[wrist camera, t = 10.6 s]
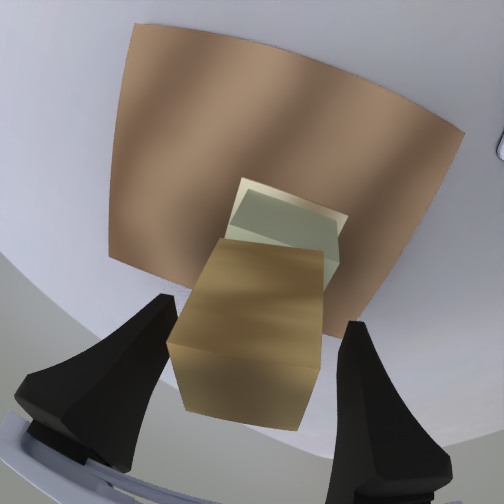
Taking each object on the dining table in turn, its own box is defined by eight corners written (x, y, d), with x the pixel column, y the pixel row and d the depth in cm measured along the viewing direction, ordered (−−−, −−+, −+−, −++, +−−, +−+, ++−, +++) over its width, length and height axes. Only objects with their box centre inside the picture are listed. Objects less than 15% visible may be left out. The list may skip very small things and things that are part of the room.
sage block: (336, 220, 17) (339, 263, 13) (303, 286, 19) (297, 334, 16) (248, 188, 16) (229, 224, 13) (226, 260, 19) (207, 304, 16)
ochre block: (323, 251, 13) (320, 368, 8) (308, 324, 16) (297, 431, 11) (219, 237, 14) (166, 342, 9) (222, 312, 16) (185, 410, 11)
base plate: (456, 128, 13) (466, 133, 12) (341, 327, 22) (341, 340, 21) (145, 24, 13) (133, 23, 12) (116, 247, 22) (107, 257, 21)
